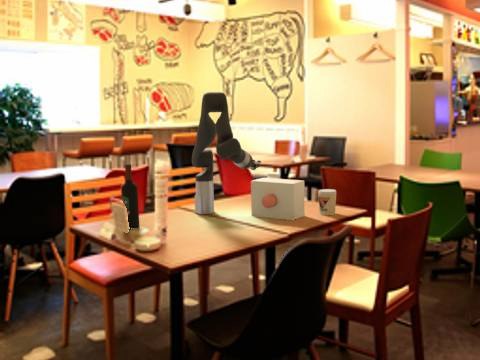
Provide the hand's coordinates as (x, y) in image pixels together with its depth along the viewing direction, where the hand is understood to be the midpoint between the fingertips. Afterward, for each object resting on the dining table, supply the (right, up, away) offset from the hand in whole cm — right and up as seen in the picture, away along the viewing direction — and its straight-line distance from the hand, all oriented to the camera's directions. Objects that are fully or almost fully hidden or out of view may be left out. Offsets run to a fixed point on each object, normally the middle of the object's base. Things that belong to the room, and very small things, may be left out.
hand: (253, 168), depth 266 cm
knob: (+9, -19, +10) cm, 23 cm away
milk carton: (+12, -22, +33) cm, 41 cm away
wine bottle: (-58, -29, -3) cm, 65 cm away
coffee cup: (+38, -23, +18) cm, 48 cm away
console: (+13, -24, +15) cm, 31 cm away
